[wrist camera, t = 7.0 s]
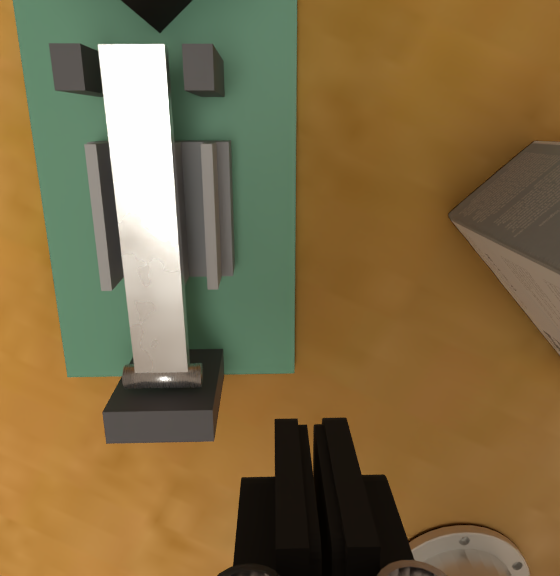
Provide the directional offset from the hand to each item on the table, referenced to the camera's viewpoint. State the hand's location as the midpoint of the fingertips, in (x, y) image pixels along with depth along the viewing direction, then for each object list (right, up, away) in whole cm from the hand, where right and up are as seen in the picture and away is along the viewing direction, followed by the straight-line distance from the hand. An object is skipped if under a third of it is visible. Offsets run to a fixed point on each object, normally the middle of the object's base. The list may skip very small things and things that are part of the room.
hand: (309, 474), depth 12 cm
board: (-8, +10, +22) cm, 25 cm away
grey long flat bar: (-7, +7, +16) cm, 19 cm away
